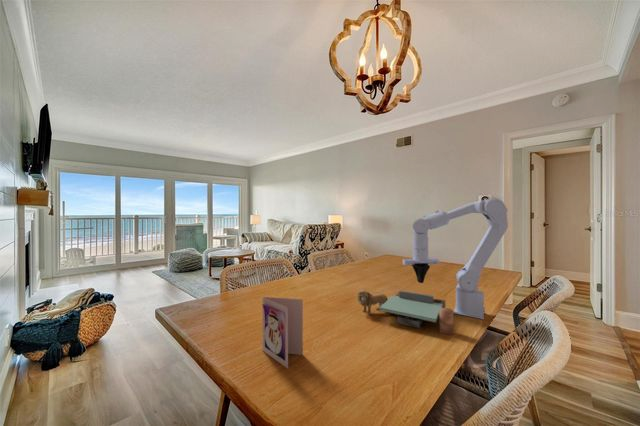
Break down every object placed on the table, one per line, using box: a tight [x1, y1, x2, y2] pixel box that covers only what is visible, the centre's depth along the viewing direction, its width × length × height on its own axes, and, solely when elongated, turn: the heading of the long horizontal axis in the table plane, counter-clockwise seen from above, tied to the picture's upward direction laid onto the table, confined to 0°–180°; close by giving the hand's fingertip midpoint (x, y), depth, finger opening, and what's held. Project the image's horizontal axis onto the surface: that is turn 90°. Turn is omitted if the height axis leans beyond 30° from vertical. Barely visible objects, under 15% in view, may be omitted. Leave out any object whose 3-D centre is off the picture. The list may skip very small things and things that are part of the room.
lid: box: [379, 290, 443, 323], centre depth 91 cm, size 18×15×4 cm
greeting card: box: [261, 296, 304, 369], centre depth 70 cm, size 11×7×15 cm, turn 45°
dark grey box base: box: [387, 292, 446, 329], centre depth 96 cm, size 18×21×4 cm
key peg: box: [438, 307, 454, 336], centre depth 83 cm, size 4×4×7 cm
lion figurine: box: [357, 289, 389, 315], centre depth 99 cm, size 15×5×9 cm, turn 114°
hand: (420, 282), depth 104 cm, fingers closed
